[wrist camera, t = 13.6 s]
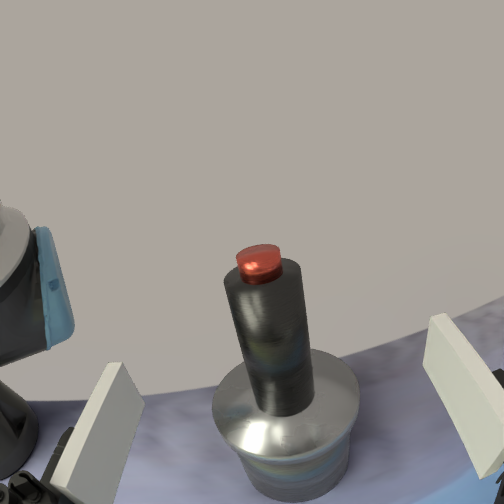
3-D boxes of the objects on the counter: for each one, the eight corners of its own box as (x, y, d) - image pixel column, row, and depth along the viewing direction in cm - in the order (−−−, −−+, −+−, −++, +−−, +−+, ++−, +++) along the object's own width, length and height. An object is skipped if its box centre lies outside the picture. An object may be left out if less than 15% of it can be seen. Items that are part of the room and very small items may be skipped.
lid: (188, 432, 19) (121, 289, 15) (260, 348, 27) (232, 219, 23) (325, 484, 14) (314, 328, 10) (375, 370, 22) (376, 220, 17)
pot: (227, 479, 23) (198, 429, 20) (276, 412, 29) (263, 353, 26) (322, 515, 18) (320, 474, 15) (362, 434, 25) (367, 373, 22)
